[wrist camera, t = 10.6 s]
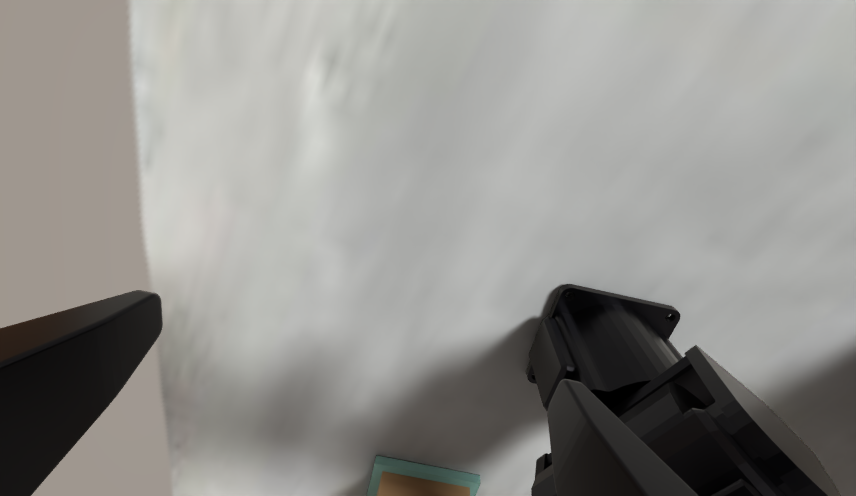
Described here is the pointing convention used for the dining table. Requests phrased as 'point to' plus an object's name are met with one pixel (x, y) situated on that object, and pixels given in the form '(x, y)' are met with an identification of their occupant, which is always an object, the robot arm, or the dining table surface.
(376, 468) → the teal pad
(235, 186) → the dining table surface
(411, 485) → the walnut cube
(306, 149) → the dining table surface
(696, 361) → the robot arm
